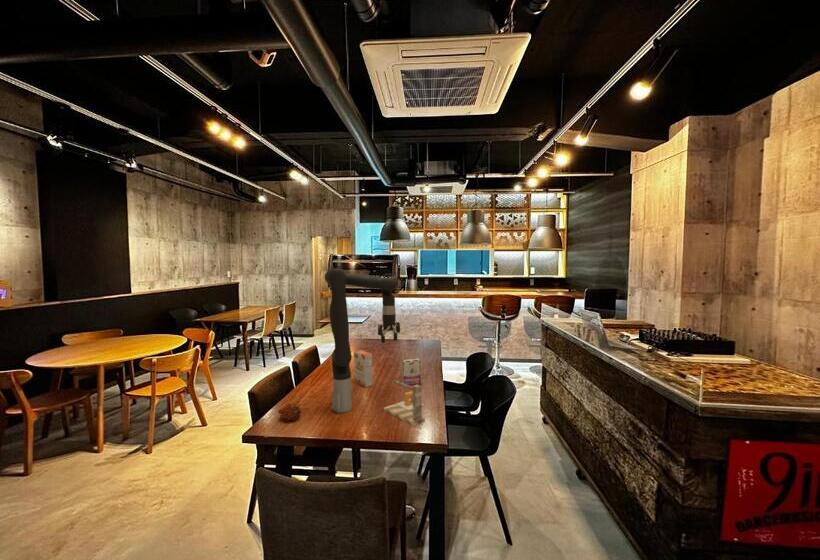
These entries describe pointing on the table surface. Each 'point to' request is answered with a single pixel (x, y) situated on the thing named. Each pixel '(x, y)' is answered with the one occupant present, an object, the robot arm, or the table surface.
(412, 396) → the loop
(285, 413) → the brown rounded piece
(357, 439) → the table surface
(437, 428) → the table surface
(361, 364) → the cracker box
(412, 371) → the candy bar box
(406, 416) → the hook stand
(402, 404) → the mat
